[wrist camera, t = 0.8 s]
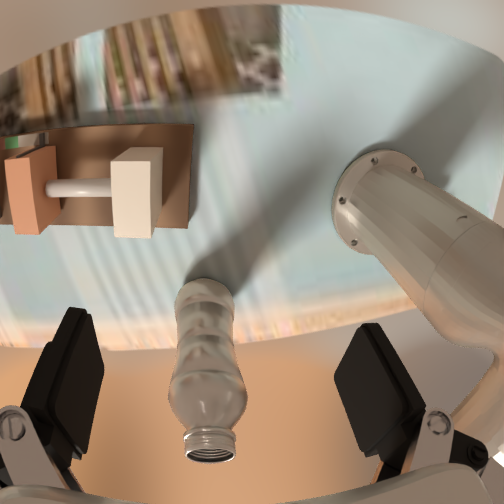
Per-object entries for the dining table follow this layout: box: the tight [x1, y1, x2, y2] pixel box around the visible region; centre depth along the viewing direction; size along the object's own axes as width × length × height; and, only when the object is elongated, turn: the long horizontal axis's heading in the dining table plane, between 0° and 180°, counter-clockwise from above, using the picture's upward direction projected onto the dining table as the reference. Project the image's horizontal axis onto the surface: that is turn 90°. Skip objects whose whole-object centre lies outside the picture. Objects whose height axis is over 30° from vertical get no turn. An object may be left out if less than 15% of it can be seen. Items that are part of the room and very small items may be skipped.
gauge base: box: [0, 123, 194, 229], centre depth 22 cm, size 26×10×8 cm, turn 83°
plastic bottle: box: [168, 278, 248, 464], centre depth 26 cm, size 6×7×20 cm
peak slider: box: [4, 133, 61, 235], centre depth 21 cm, size 3×8×5 cm, turn 173°
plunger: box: [45, 147, 163, 238], centre depth 23 cm, size 10×6×6 cm, turn 83°
